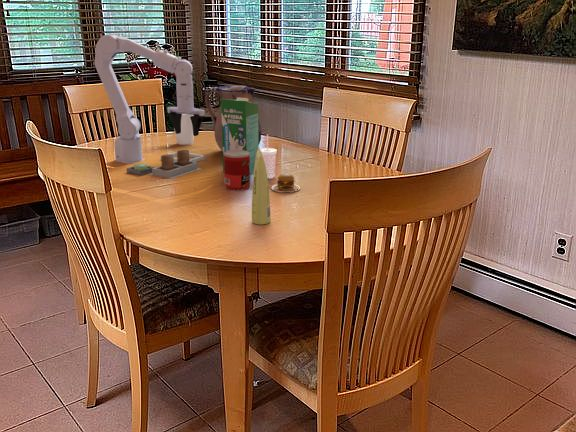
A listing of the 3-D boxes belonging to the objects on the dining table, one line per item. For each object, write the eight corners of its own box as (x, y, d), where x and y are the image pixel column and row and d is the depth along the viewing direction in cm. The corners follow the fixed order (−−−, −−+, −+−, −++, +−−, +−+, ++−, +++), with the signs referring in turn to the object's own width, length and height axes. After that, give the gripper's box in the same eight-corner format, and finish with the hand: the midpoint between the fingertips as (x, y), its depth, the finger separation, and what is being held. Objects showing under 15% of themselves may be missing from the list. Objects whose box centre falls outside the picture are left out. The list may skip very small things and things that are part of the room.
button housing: (127, 175, 191) (126, 168, 190) (141, 171, 196) (141, 164, 195) (141, 178, 188) (140, 171, 187) (155, 174, 193) (154, 167, 192)
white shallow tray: (161, 162, 208) (161, 156, 207) (179, 156, 215) (179, 151, 215) (187, 167, 201) (187, 161, 201) (205, 161, 209) (205, 155, 208)
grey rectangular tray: (148, 176, 190) (148, 168, 189) (180, 167, 202) (179, 158, 200) (171, 181, 185) (170, 172, 184) (202, 171, 196) (201, 162, 195)
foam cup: (169, 145, 232) (167, 113, 228) (179, 141, 240) (177, 109, 236) (190, 147, 230) (188, 115, 225) (200, 142, 238) (199, 111, 233)
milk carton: (259, 169, 199) (258, 96, 190) (246, 176, 191) (245, 100, 183) (236, 166, 202) (234, 94, 194) (223, 173, 195) (220, 98, 186)
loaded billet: (159, 174, 189) (158, 156, 187) (168, 171, 193) (167, 153, 190) (168, 175, 187) (167, 157, 185) (177, 173, 190) (176, 155, 188)
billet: (175, 169, 195) (174, 151, 193) (183, 166, 198) (182, 149, 196) (184, 170, 193) (183, 153, 191) (192, 168, 196) (191, 151, 194)
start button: (131, 174, 191) (130, 165, 190) (141, 171, 195) (140, 162, 194) (141, 176, 189) (140, 167, 188) (150, 173, 193) (150, 164, 192)
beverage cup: (260, 179, 188) (260, 137, 183) (256, 174, 193) (256, 133, 188) (278, 178, 189) (279, 136, 184) (274, 173, 195) (274, 132, 190)
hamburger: (261, 194, 174) (261, 177, 173) (272, 184, 185) (272, 167, 184) (299, 198, 172) (300, 180, 170) (308, 187, 183) (309, 170, 181)
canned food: (246, 191, 176) (246, 156, 172) (221, 189, 177) (220, 154, 173) (253, 184, 183) (252, 150, 179) (228, 182, 184) (227, 149, 180)
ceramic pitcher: (259, 159, 213) (259, 90, 204) (202, 158, 213) (199, 90, 204) (262, 148, 229) (262, 84, 220) (209, 147, 229) (207, 83, 221)
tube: (245, 221, 151) (244, 148, 144) (259, 216, 154) (258, 145, 148) (261, 226, 147) (261, 152, 141) (275, 221, 151) (274, 148, 144)
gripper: (161, 95, 201) (163, 134, 205) (195, 98, 195) (197, 138, 199) (173, 93, 207) (175, 130, 211) (207, 96, 201) (208, 134, 205)
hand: (187, 134), depth 206 cm, fingers open, 7 cm apart
